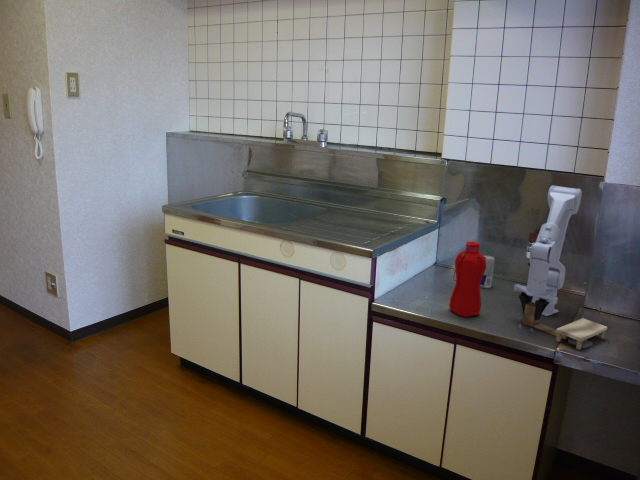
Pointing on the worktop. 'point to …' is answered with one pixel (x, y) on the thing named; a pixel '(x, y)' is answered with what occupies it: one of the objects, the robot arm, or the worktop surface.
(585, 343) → the coaster
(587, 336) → the small wooden table
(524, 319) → the wooden mallet
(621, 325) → the worktop surface
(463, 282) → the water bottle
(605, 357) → the worktop surface
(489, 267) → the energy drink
